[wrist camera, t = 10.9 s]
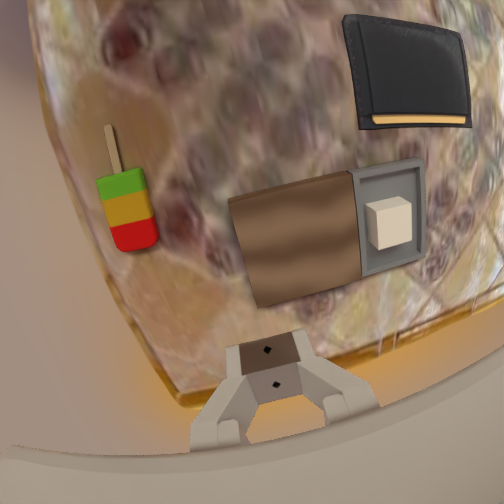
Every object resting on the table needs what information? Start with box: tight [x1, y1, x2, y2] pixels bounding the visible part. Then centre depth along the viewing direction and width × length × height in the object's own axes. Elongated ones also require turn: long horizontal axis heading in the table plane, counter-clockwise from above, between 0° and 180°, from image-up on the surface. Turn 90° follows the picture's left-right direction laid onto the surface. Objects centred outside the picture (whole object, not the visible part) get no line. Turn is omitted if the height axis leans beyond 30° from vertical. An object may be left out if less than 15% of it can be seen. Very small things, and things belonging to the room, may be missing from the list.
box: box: [347, 157, 426, 277], centre depth 36 cm, size 14×10×2 cm
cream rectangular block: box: [365, 196, 412, 250], centre depth 35 cm, size 5×5×3 cm
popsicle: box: [96, 124, 159, 252], centre depth 32 cm, size 6×15×2 cm, turn 9°
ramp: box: [228, 171, 361, 308], centre depth 36 cm, size 14×14×2 cm
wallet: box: [342, 14, 472, 130], centre depth 29 cm, size 20×2×15 cm
